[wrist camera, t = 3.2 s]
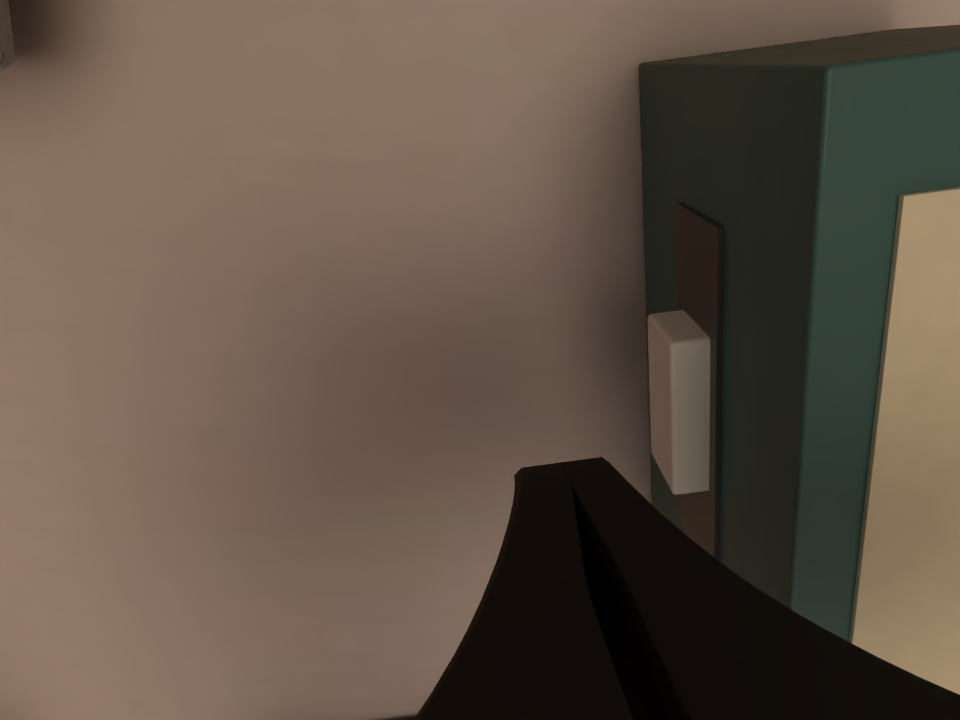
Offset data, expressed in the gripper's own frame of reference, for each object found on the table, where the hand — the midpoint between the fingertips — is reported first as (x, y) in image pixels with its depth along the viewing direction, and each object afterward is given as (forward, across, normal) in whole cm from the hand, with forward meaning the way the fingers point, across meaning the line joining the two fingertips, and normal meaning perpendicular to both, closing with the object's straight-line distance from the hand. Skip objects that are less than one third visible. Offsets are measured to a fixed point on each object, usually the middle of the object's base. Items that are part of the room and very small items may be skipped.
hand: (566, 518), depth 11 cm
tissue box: (+7, -6, 0) cm, 9 cm away
